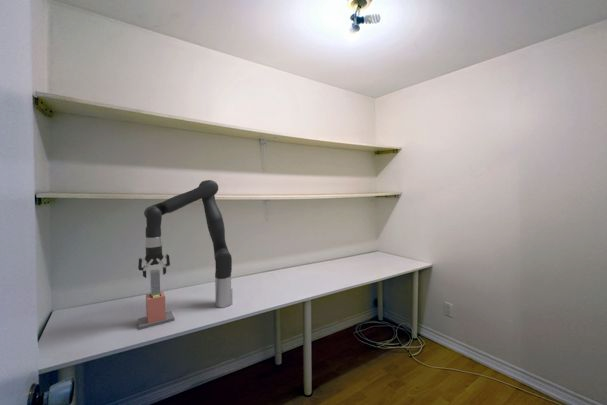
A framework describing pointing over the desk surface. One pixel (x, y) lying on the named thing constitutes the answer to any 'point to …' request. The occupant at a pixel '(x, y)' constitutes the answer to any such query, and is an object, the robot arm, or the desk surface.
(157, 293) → the steel column
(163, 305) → the stand sleeve
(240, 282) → the desk surface
